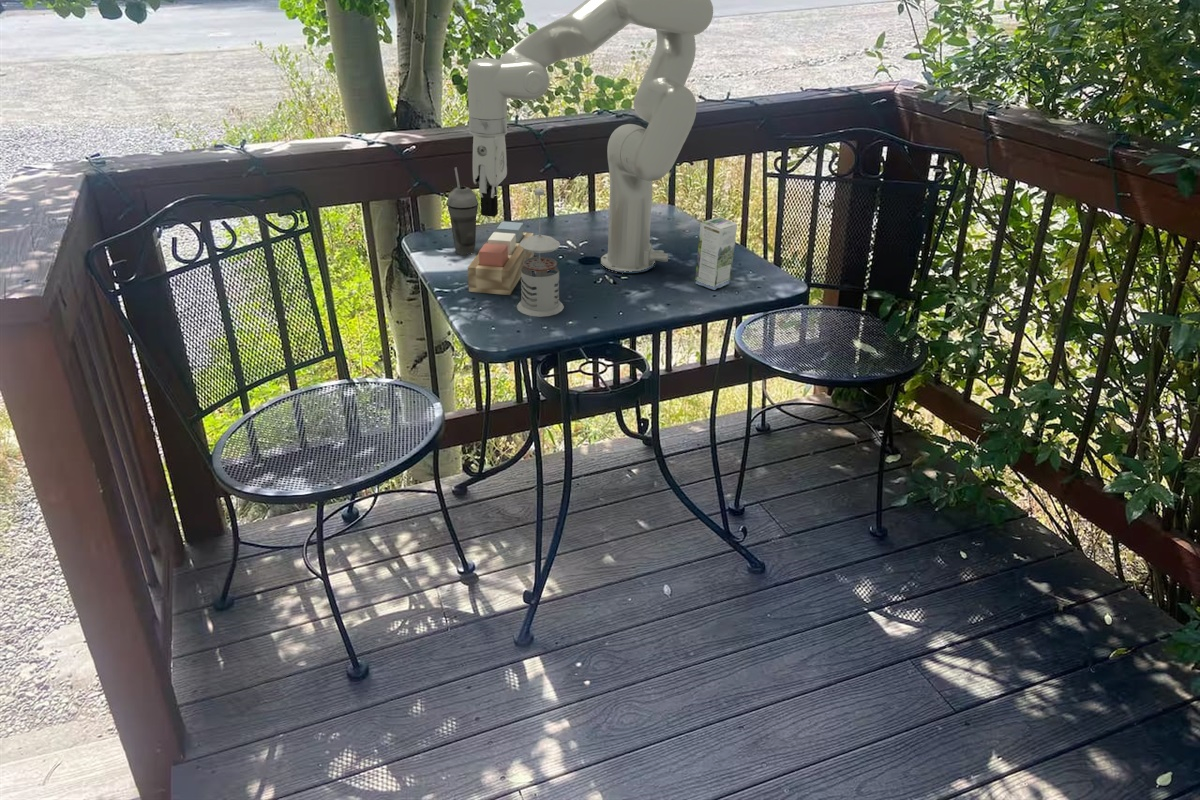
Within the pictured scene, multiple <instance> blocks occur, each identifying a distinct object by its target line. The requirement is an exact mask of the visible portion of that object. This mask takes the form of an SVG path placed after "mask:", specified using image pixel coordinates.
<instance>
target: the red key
mask: <svg viewBox="0 0 1200 800" xmlns="http://www.w3.org/2000/svg"><path fill="white" fill-rule="evenodd" d="M486 243H487V242H486ZM486 243H484V244H483V246H482V247H481V248H480V249H479V250H478V253H479V265H481V266H493V267H504V266H505V264H506V263H507V261H508V245H498V244H486Z"/></svg>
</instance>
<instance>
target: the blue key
mask: <svg viewBox="0 0 1200 800" xmlns="http://www.w3.org/2000/svg"><path fill="white" fill-rule="evenodd" d="M496 230H497V232H500V233H513V234H516V243H520V242H521V240H522V239H523V237H524V236H523V232H524V222H514V221H503V220H502V221H501V222H500V224H499V225H498V226H497V228H496Z"/></svg>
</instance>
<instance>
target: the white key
mask: <svg viewBox="0 0 1200 800" xmlns="http://www.w3.org/2000/svg"><path fill="white" fill-rule="evenodd" d="M487 242H488V244H498V245H508V255H512V254H513V252H514V251H515V249H516V234H513V233H500V232H495V231H493V233H492V234H491V235H490V236H489V238H488V239H487Z"/></svg>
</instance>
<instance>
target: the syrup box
mask: <svg viewBox="0 0 1200 800" xmlns="http://www.w3.org/2000/svg"><path fill="white" fill-rule="evenodd" d="M699 227H700V228H699V235H698V236H699V237H698V247H697V254H696V255H697V256H696V265H695V266H696V267H695V275H694V276H695V277H694V281H695V280H697V281H699V282H701V283H704V284H706V285H710V286H713V287H716V286H718V285H719V284H722V283H724V282H726V281H728V280H730V281H731V278H732V268H733V263H734V261H733V260H734V253H735V246H736V236H737V228H738V224H737V223H736V222H734V221H732V220H729V219H727V218H723V217H720V216H719V217H718V216H717V217H716V216H715V217H714V218H711V219H707V220H705V221H702V222H700V226H699Z"/></svg>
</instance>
